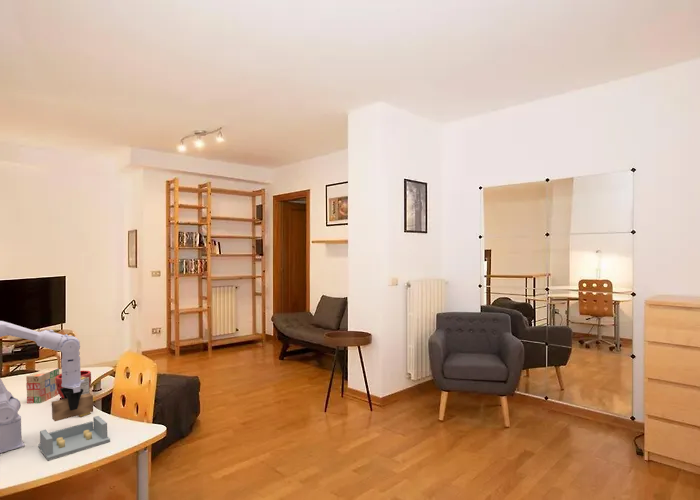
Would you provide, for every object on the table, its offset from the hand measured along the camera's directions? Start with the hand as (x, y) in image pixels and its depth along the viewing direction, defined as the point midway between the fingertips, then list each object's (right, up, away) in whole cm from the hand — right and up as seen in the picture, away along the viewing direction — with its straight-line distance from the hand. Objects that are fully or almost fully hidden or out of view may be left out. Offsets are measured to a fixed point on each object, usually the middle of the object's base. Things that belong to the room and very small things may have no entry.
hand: (72, 408), depth 158 cm
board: (0, -3, 0) cm, 3 cm away
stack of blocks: (-38, -10, +44) cm, 59 cm away
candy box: (-10, -10, +20) cm, 24 cm away
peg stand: (+6, -9, -9) cm, 14 cm away
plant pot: (-22, -10, +36) cm, 43 cm away
